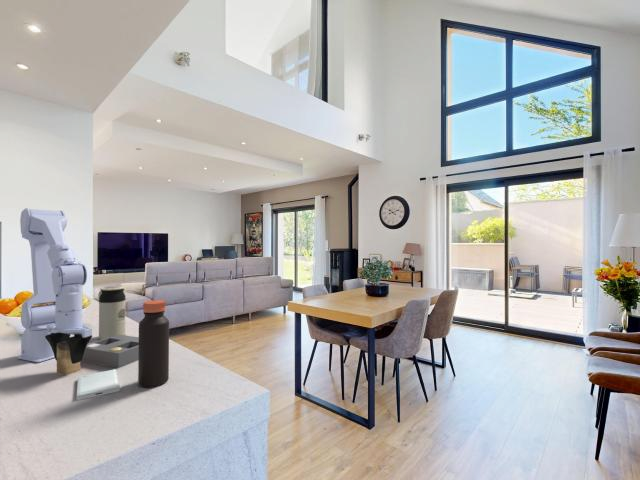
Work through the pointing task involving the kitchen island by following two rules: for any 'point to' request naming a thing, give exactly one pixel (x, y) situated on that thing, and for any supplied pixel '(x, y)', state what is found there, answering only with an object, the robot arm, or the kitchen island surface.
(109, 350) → the socket block
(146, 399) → the kitchen island surface
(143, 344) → the bottle
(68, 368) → the plug
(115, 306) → the travel mug
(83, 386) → the hard drive
